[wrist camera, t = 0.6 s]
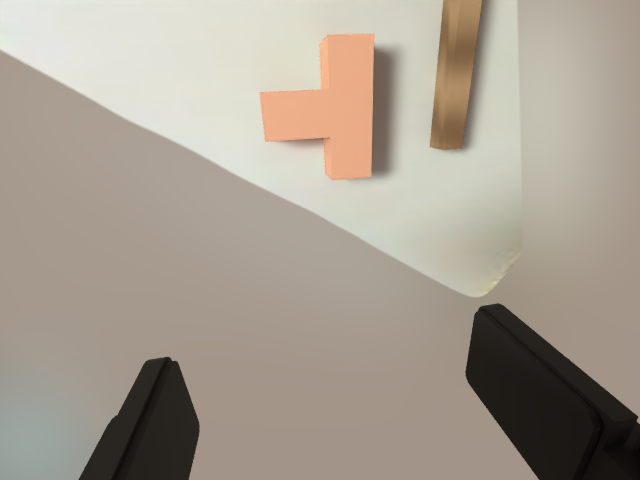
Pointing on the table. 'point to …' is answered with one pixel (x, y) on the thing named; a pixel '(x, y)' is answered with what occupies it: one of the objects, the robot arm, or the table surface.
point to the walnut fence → (454, 72)
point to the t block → (331, 107)
